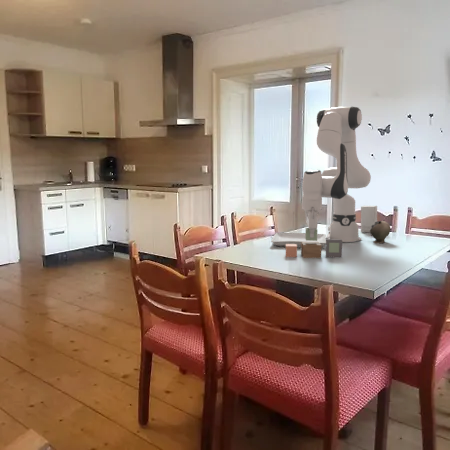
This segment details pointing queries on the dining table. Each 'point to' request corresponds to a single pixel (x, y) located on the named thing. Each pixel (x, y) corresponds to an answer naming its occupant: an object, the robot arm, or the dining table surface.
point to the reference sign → (333, 248)
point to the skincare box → (368, 217)
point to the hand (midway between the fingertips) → (311, 236)
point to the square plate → (295, 239)
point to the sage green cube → (307, 235)
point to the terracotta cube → (291, 250)
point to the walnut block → (311, 249)
